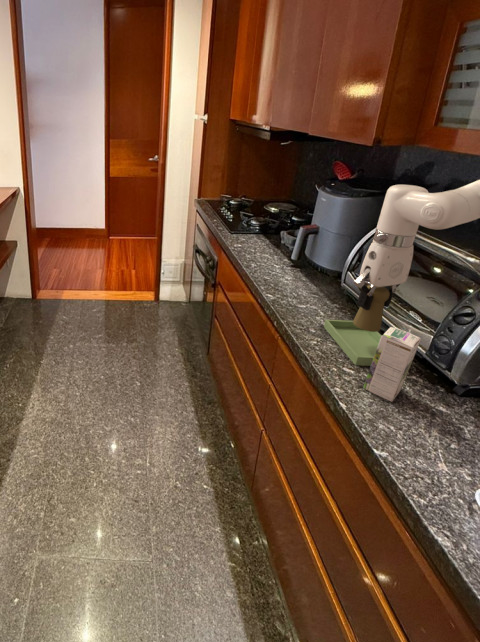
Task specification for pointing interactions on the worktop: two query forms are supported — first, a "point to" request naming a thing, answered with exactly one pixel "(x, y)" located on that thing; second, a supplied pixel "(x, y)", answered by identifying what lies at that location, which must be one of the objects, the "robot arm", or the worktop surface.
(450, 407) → the worktop surface
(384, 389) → the syrup box
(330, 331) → the spice tray
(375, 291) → the cork
